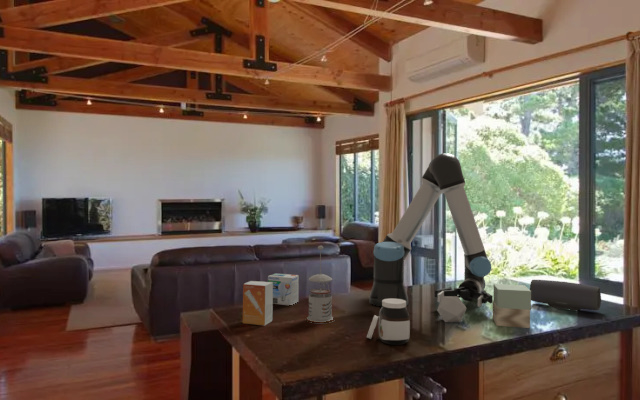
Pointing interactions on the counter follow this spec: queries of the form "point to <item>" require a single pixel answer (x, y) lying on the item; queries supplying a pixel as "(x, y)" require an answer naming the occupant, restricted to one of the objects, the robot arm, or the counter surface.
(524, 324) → the tower base
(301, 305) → the counter surface
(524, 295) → the tower top
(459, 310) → the die
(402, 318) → the spread jar
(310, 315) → the french press
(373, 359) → the counter surface
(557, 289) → the bluetooth speaker
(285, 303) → the light bulb box
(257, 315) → the small box
